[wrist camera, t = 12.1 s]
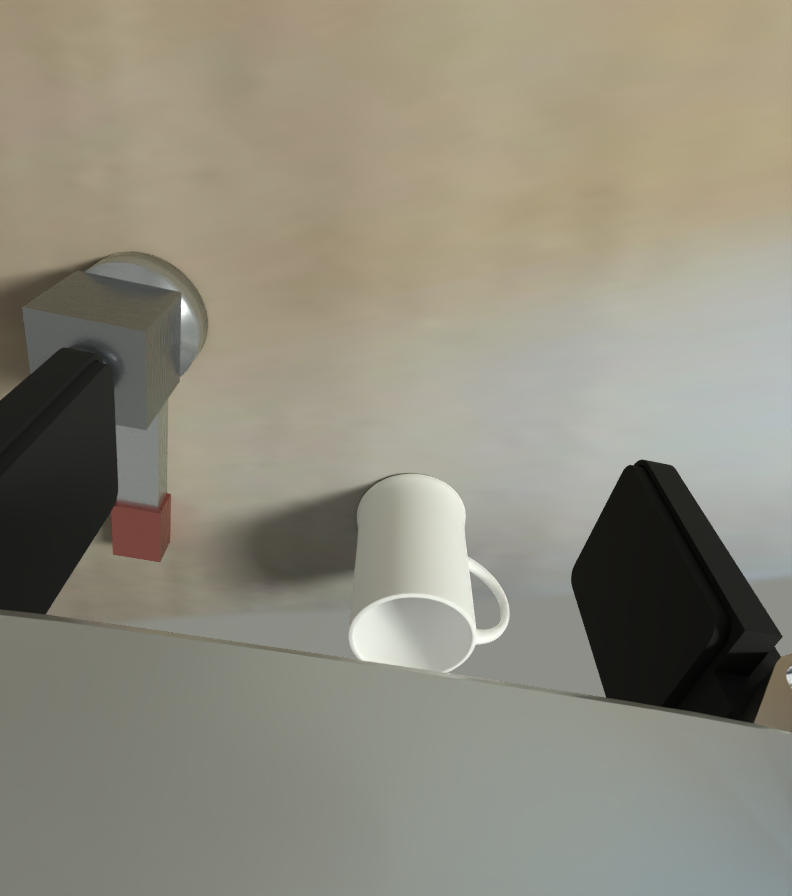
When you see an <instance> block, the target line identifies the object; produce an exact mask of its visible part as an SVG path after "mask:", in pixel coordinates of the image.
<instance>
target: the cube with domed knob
mask: <svg viewBox="0 0 792 896" xmlns="http://www.w3.org/2000/svg"><path fill="white" fill-rule="evenodd" d="M181 298H182V292H179V291H174V290H169V289H164V288H159V287H154V286H150V285H145V284H140V283H135V282H130V281H126V280H121V279H116V278H111V277H106V276H101V275H97V274H92V273H87V272H82V271H77V270H76V271H75V272H73V273H72V274H70V275H69V276H67V277H66V278H64V279H63V280H61V281H60V282H58V283H57V284H55V285H54V286H52V287H51V288H49V289H48V290H46V291H45V292H43V293H42V294H40V295H39V296H37V297H36V298H34V299H33V300H31V301H30V302H29V303H27V304H26V305H24V306H23V307H22V313H23V321H24V329H25V337H26V345H27V353H28V361H29V369H30V374H32V373H33V372H34V371H35V370H36V369H37V368H38V367H40V366H41V365H42V364H43V363H44V362H45V361H46V360H48V359H49V358H50V357H51V356H52V355H53V354H55V353H56V352H57V351H58V350H59V349H61V348H63V347H65V348H71V349H76V350H81V351H86V352H91V353H97V354H99V355H100V356H101V357H102V359H103V363H104V364H109V365H111V366H112V369H113V374H114V397H115V421H116V425H120V426H125V427H131V428H136V429H142V430H147V428H148V427H149V426H150V424H151V423H152V421H153V420H154V418H155V417H156V415H157V414H158V412H159V411H160V409H161V408H162V406H163V405H164V404H165V402H166V401H167V399H168V398H169V396H170V395H171V393H172V392H173V390H174V389H175V387H176V386H177V384H178V383H179V382H180V341H181Z"/></svg>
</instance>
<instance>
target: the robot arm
mask: <svg viewBox="0 0 792 896" xmlns="http://www.w3.org/2000/svg"><path fill="white" fill-rule="evenodd" d="M117 495H118V468H117V444H116V421H115V397H114V374H113V369H112V366H111V365H109V364H104V363H103V359H102V357H101V356H100V355H99V354H97V353H91V352H86V351H81V350H76V349H71V348H65V347H63V348H61V349H59V350H58V351H57V352H56V353H55V354H53V355H52V356H51V357H50V358H49V359H48V360H46V361H45V362H44V363H43V364H42V365H41V366H40V367H38V368H37V369H36V370H35V371H34V372H33V373H32V374H30V375H29V376H28V377H27V378H26V379H25V380H23V381H22V382H21V383H20V384H19V385H18V386H17V387H15V388H14V389H13V390H12V391H11V392H10V393H9V394H7V395H6V396H5V397H4V398H3V399H2V400H0V896H792V654H789V655H786V656H782V657H781V656H780V655H779V653H778V652H777V650H776V648H775V647H774V646H775V645H776V644H777V643H778V641H779V640H780V639H781V638H782V635H781V633H780V632H779V630H778V629H777V627H776V626H775V624H774V622H773V621H772V619H771V618H770V616H769V615H768V613H767V611H766V610H765V608H764V607H763V606H762V604H761V602H760V601H759V599H758V597H757V596H756V594H755V593H754V591H753V590H752V588H751V586H750V585H749V583H748V582H747V580H746V579H745V577H744V576H743V574H742V572H741V571H740V569H739V568H738V566H737V565H736V563H735V561H734V560H733V558H732V557H731V555H730V554H729V552H728V550H727V549H726V547H725V546H724V544H723V543H722V541H721V540H720V538H719V536H718V535H717V533H716V532H715V530H714V529H713V527H712V525H711V524H710V522H709V521H708V519H707V518H706V516H705V515H704V513H703V511H702V510H701V508H700V507H699V505H698V504H697V502H696V500H695V499H694V497H693V496H692V494H691V493H690V491H689V489H688V488H687V486H686V485H685V483H684V482H683V480H682V479H681V477H680V475H679V474H678V472H677V471H676V469H675V468H674V467H673V466H671V465H667V464H662V463H657V462H652V461H647V460H639V461H637V462H636V463H635V464H634V466H633V465H629V466H627V467H626V468H625V469H624V470H623V472H622V474H621V476H620V478H619V480H618V482H617V484H616V486H615V488H614V489H613V491H612V493H611V495H610V497H609V499H608V501H607V503H606V505H605V507H604V509H603V511H602V513H601V515H600V517H599V519H598V521H597V522H596V524H595V526H594V528H593V530H592V532H591V534H590V536H589V538H588V540H587V542H586V544H585V546H584V548H583V550H582V552H581V553H580V555H579V557H578V559H577V561H576V563H575V565H574V568H573V571H572V576H571V583H572V588H573V591H574V594H575V598H576V600H577V604H578V607H579V610H580V614H581V617H582V620H583V624H584V627H585V630H586V633H587V636H588V640H589V643H590V646H591V650H592V653H593V656H594V659H595V663H596V666H597V669H598V672H599V675H600V679H601V682H602V685H603V688H604V691H605V695H606V698H604V697H597V696H592V695H585V694H578V693H572V692H566V691H559V690H553V689H546V688H540V687H534V686H528V685H521V684H514V683H508V682H502V681H495V680H489V679H483V678H475V677H470V676H463V675H456V674H450V673H443V672H437V671H430V670H423V669H417V668H410V667H404V666H397V665H390V664H384V663H377V662H370V661H364V660H357V659H350V658H344V657H337V656H330V655H323V654H317V653H310V652H303V651H297V650H290V649H283V648H276V647H269V646H262V645H255V644H249V643H242V642H234V641H228V640H220V639H214V638H207V637H200V636H193V635H186V634H179V633H173V632H166V631H159V630H151V629H145V628H137V627H131V626H124V625H117V624H110V623H103V622H95V621H88V620H81V619H74V618H67V617H59V616H52V615H45V614H46V613H47V611H48V610H49V608H50V606H51V605H52V603H53V602H54V600H55V599H56V597H57V595H58V594H59V592H60V591H61V589H62V588H63V586H64V584H65V583H66V581H67V580H68V578H69V577H70V575H71V573H72V572H73V570H74V569H75V567H76V566H77V564H78V562H79V561H80V559H81V558H82V556H83V555H84V553H85V551H86V550H87V548H88V547H89V545H90V544H91V542H92V540H93V539H94V537H95V536H96V534H97V533H98V531H99V529H100V528H101V526H102V525H103V523H104V522H105V520H106V519H107V517H108V515H109V514H110V512H111V511H112V509H113V507H114V505H115V503H116V499H117Z"/></svg>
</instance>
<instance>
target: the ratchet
mask: <svg viewBox="0 0 792 896" xmlns="http://www.w3.org/2000/svg"><path fill="white" fill-rule="evenodd" d="M84 272H87V273H92V274H97V275H101V276H106V277H111V278H116V279H121V280H126V281H130V282H135V283H140V284H145V285H150V286H154V287H159V288H164V289H169V290H174V291H179V292H182V298H181V341H180V376H182V375H183V374H184V373H185V372H186V371H187V369H188V368H189V367H190V365H191V364H192V362H193V361H194V359H195V358H196V356H197V355H198V353H199V352H200V350H201V349H202V347H203V345H204V343H205V340H206V337H207V331H208V317H207V311H206V308H205V305H204V302H203V300H202V298H201V296H200V294H199V292H198V290H197V289H196V287H195V286H194V285H193V283H192V282H191V281H190V280H189V279H188V278H187V277H186V276H185V275H184V274H183V273H182V272H181V271H180V270H179V269H177V268H176V267H175V266H173V265H172V264H170V263H168V262H167V261H165V260H163V259H161V258H158V257H156V256H153V255H150V254H146V253H140V252H120V253H116V254H112V255H110V256H107V257H105V258H103V259H102V260H100V261H99V262H97V263H96V264H94V265H93V266H91V267H90V268H89V269H87V270H86V271H84ZM167 443H168V399H167V401H166V402H165V404H164V405H163V406H162V408H161V409H160V411H159V412H158V414H157V415H156V417H155V418H154V420H153V421H152V423H151V424H150V426H149V427H148V428H147V430H142V429H136V428H131V427H125V426H120V425H116V444H117V468H118V495H117V499H116V503H115V505H114V507H113V509H112V511H111V522H112V542H113V555H119V556H125V557H131V558H138V559H144V560H150V561H156V562H160V561H161V559H162V557H163V555H164V553H165V551H166V549H167V547H168V545H169V543H170V514H171V494H167Z"/></svg>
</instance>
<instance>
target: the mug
mask: <svg viewBox="0 0 792 896" xmlns="http://www.w3.org/2000/svg"><path fill="white" fill-rule="evenodd" d="M465 520H466V514H465V508H464V505H463V502H462V500H461V498H460V497H459V495H458V494H457V493H456V492H455V490H454V489H453V488H451V487H450V486H449V485H448V484H446V483H444V482H443V481H441V480H439V479H437V478H434V477H431V476H427V475H422V474H400V475H395V476H392V477H389V478H386V479H384V480H382V481H380V482H378V483H376V484H375V485H374V486H372V487H371V488H370V489H369V490H368V491H367V492H366V493H365V494H364V496H363V497H362V499H361V501H360V503H359V506H358V510H357V525H358V540H357V550H356V560H355V571H354V581H353V591H352V601H351V611H350V622H349V633H348V637H349V644H350V646H351V649H352V651H353V653H354V654H355V655H356V657H357V658H358V659H359V660H364V661H370V662H377V663H384V664H390V665H397V666H404V667H410V668H417V669H423V670H430V671H437V672H443V673H447V672H449V671H451V670H453V669H455V668H456V667H458V666H459V665H461V664H462V663H463V662H464V661H465V660H466V659H467V658H468V657H469V656H470V654H471V653H472V651H473V649H474V647H475V644H485V643H489V642H491V641H493V640H495V639H497V638H498V637H499V636H500V635H501V634H502V633H503V632H504V630H505V629H506V627H507V624H508V621H509V605H508V601H507V598H506V595H505V593H504V591H503V589H502V588H501V586H500V585H499V583H498V582H497V581H496V579H495V578H494V577H493V576H492V575H491V574H490V573H489V572H488V571H487V570H486V569H485V568H484V567H483V566H481V565H480V564H479V563H477V562H476V561H474V560H473V559H471V558H469V557H468V556H467V549H466V540H465V531H464V526H465ZM469 571H470V572H472V573H473V574H475V575H476V576H478V577H479V578H480V579H481V580H482V581H484V582H485V583H486V584H487V586H488V587H489V588H490V589H491V590H492V592H493V593H494V595H495V596H496V598H497V600H498V603H499V605H500V609H501V620H500V622H499V624H498V625H497V626H495V627H493V628H491V629H486V630H479V629H476V623H475V615H474V607H473V598H472V590H471V582H470V574H469Z"/></svg>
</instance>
